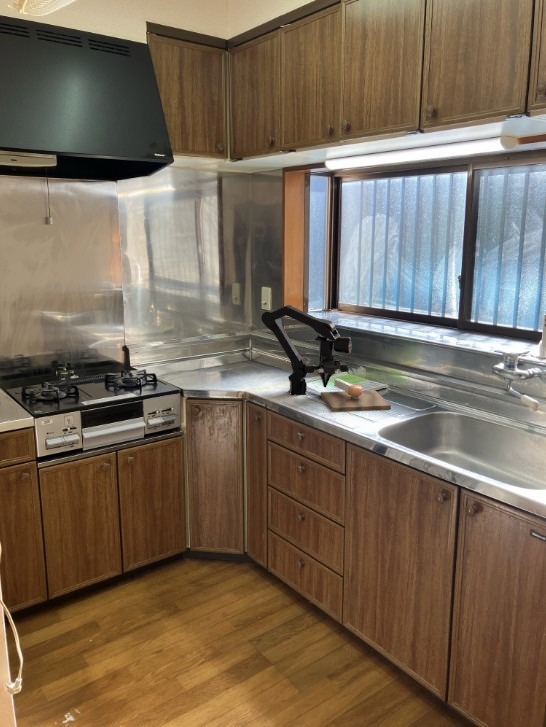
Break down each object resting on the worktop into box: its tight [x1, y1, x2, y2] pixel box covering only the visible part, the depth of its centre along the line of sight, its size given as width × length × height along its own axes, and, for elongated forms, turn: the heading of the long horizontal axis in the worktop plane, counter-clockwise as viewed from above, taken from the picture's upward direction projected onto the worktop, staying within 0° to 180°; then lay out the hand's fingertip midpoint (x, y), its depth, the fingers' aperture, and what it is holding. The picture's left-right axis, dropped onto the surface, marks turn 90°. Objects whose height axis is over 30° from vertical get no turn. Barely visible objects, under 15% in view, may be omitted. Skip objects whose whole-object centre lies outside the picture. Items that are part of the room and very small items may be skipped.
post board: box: [320, 389, 392, 412], centre depth 247 cm, size 24×20×3 cm
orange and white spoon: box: [333, 378, 363, 396], centre depth 250 cm, size 16×6×3 cm, turn 30°
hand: (324, 387), depth 253 cm, fingers closed
